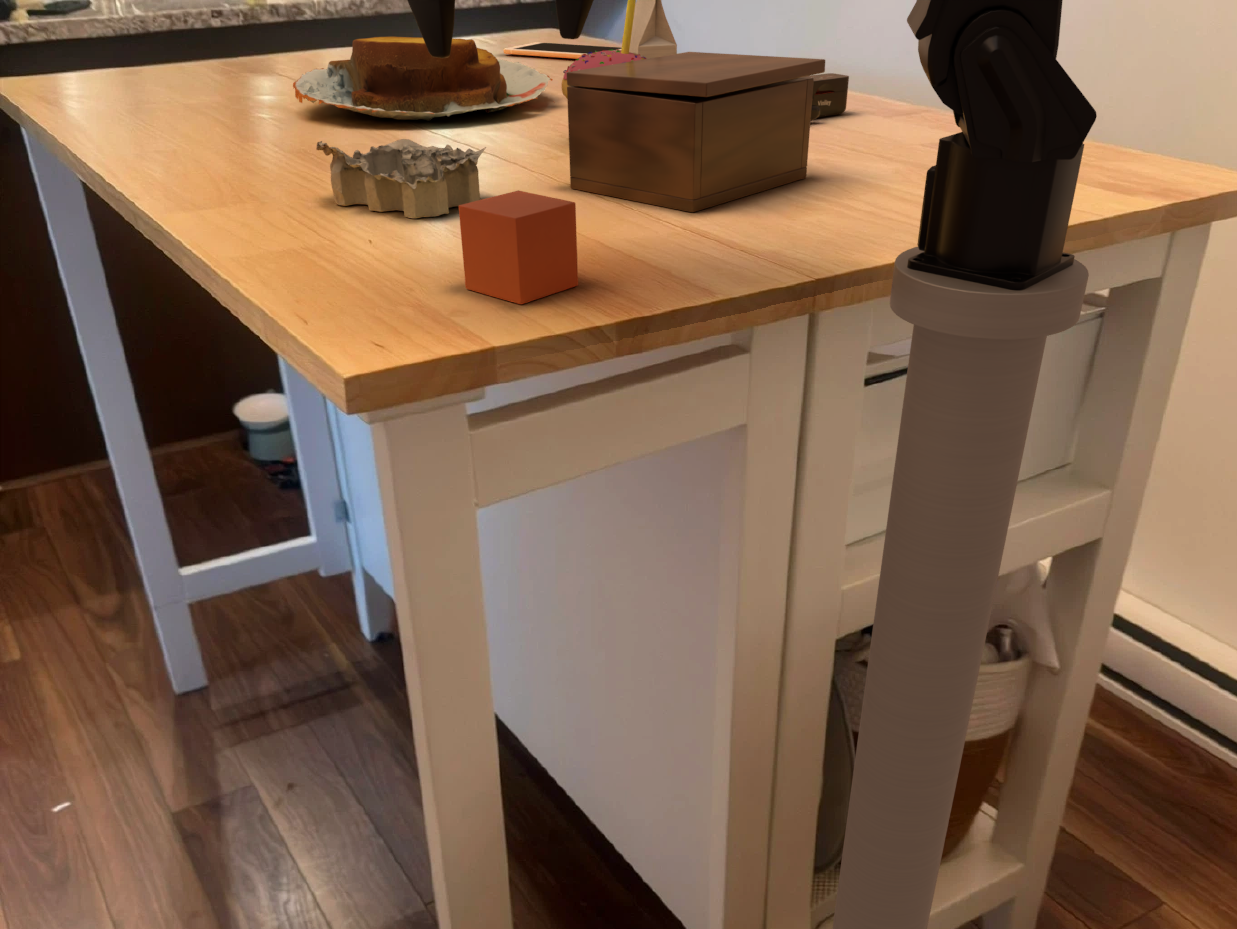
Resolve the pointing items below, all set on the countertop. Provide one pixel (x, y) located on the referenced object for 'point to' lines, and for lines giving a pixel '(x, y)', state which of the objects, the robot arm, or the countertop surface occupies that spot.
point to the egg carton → (405, 178)
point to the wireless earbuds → (829, 94)
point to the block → (519, 246)
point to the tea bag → (651, 31)
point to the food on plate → (420, 80)
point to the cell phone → (556, 49)
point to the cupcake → (607, 56)
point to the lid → (696, 73)
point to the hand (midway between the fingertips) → (508, 47)
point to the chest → (688, 143)
